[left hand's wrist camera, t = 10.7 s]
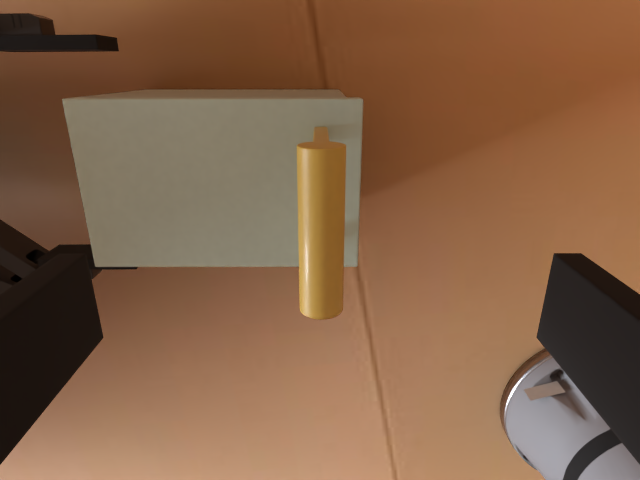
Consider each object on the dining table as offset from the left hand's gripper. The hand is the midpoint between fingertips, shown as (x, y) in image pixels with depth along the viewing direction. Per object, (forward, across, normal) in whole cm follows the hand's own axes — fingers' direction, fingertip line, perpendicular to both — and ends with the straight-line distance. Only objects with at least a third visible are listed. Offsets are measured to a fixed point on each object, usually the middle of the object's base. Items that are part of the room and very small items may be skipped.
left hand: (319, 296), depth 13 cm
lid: (+13, +5, 0) cm, 14 cm away
